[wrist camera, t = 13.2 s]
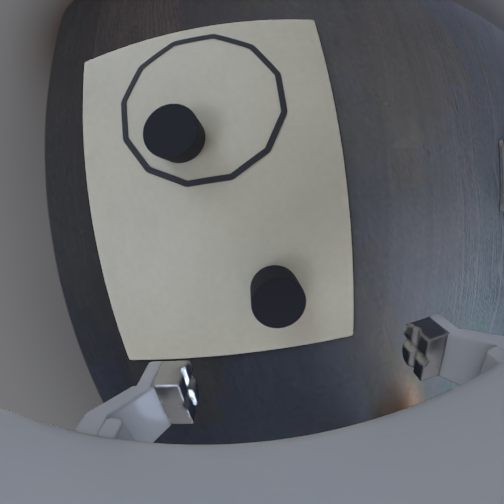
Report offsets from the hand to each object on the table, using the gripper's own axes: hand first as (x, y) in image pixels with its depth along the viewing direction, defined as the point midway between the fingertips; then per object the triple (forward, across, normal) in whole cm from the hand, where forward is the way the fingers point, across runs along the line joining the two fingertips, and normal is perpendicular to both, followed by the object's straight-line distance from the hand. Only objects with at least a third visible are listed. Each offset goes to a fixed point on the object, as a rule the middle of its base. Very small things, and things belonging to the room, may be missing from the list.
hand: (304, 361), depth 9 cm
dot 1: (+14, 0, +2) cm, 14 cm away
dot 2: (+14, +6, -11) cm, 19 cm away
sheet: (+14, +4, -7) cm, 17 cm away
